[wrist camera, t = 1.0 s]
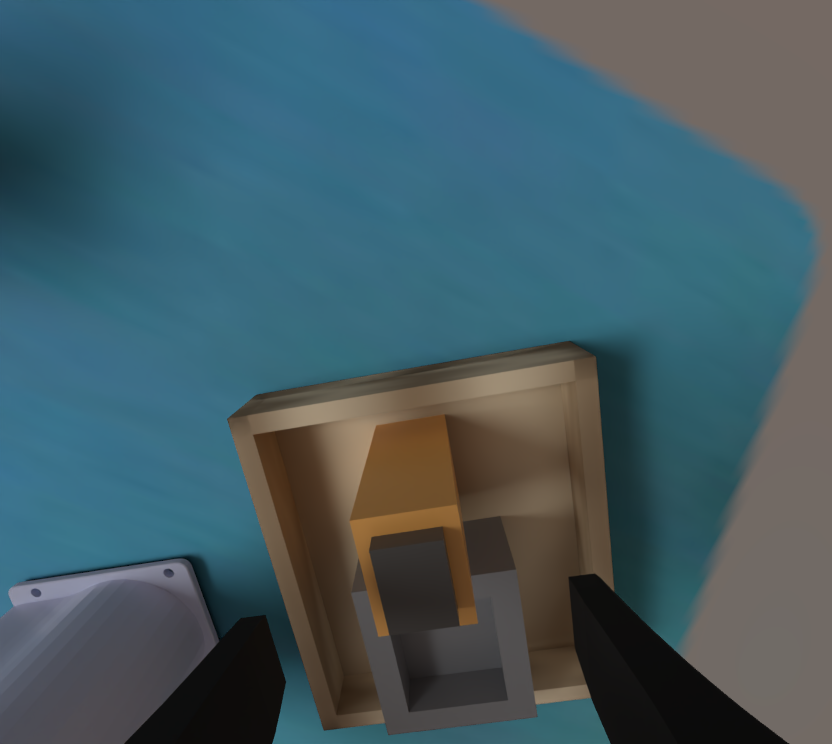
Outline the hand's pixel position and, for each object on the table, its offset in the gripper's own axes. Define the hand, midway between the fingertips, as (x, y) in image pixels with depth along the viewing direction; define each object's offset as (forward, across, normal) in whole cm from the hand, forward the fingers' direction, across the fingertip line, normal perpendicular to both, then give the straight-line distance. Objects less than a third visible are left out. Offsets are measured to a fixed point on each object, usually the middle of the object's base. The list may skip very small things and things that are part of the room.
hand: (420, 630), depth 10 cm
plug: (+9, 0, 0) cm, 9 cm away
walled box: (+10, 0, +4) cm, 11 cm away
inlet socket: (+9, 0, +7) cm, 12 cm away
